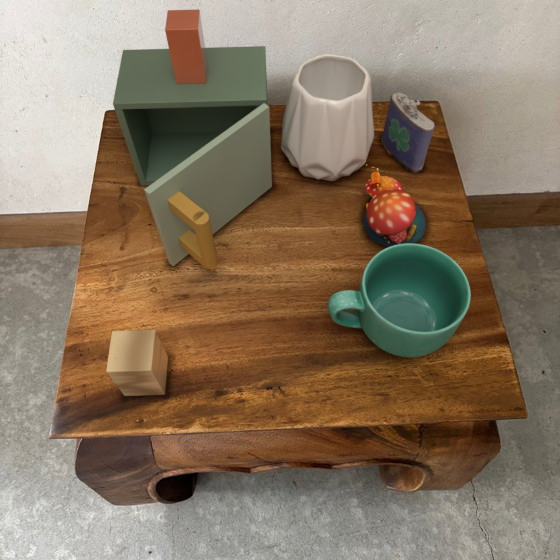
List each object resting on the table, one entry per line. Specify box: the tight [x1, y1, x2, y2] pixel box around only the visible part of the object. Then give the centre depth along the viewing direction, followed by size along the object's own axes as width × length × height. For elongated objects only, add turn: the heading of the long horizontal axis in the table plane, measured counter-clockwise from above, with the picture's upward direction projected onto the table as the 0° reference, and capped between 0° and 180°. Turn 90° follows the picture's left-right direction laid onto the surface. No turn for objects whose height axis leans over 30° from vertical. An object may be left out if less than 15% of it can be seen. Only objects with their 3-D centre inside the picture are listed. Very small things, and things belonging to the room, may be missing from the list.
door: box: [143, 103, 273, 270], centre depth 73 cm, size 7×20×16 cm, turn 136°
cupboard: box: [112, 45, 269, 186], centre depth 81 cm, size 11×20×16 cm, turn 92°
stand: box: [105, 329, 169, 397], centre depth 65 cm, size 5×5×8 cm
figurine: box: [362, 163, 427, 248], centre depth 77 cm, size 12×9×8 cm
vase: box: [280, 53, 375, 182], centre depth 81 cm, size 14×14×15 cm
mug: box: [327, 243, 472, 358], centre depth 68 cm, size 17×13×10 cm
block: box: [164, 8, 207, 84], centre depth 71 cm, size 4×4×8 cm
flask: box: [380, 91, 436, 173], centre depth 83 cm, size 9×3×11 cm, turn 30°
